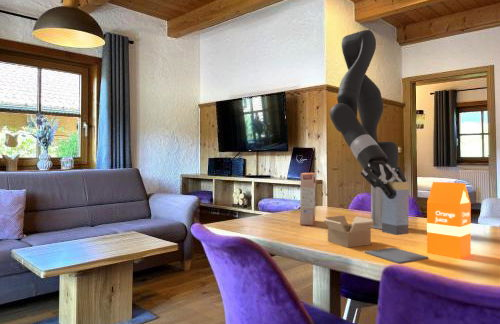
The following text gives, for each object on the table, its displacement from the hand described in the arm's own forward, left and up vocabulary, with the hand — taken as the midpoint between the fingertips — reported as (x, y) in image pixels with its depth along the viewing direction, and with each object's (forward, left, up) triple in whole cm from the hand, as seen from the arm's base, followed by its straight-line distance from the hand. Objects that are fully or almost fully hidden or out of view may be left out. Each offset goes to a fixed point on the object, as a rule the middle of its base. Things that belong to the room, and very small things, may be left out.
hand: (399, 196), depth 102 cm
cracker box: (-9, -56, -17) cm, 59 cm away
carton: (+1, -19, -16) cm, 25 cm away
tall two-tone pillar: (0, -1, -10) cm, 10 cm away
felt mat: (0, -1, -16) cm, 16 cm away
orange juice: (-15, +4, -17) cm, 23 cm away
